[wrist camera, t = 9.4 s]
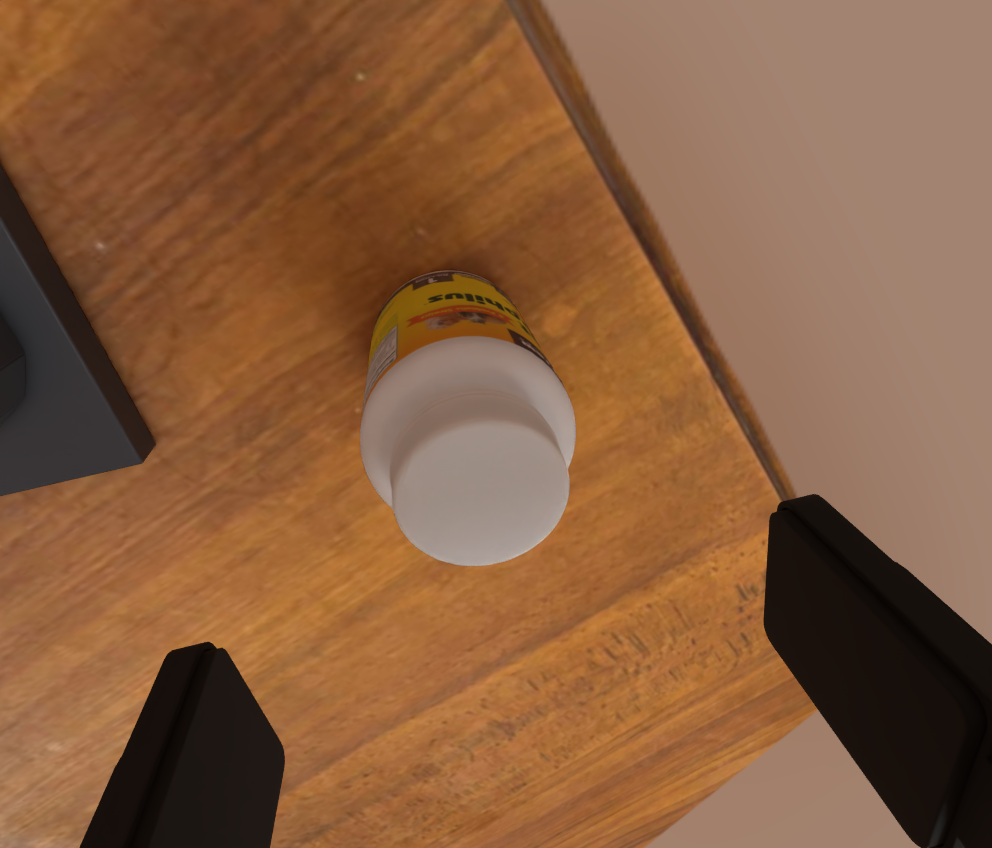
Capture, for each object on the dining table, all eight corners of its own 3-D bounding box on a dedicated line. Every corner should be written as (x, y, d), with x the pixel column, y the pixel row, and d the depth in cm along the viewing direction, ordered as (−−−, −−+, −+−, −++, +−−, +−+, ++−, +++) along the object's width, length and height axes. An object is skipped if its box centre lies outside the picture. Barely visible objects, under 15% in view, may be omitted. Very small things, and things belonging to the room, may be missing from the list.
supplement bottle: (549, 309, 22) (656, 448, 13) (476, 427, 24) (525, 621, 15) (413, 234, 20) (428, 336, 11) (345, 370, 22) (310, 552, 13)
